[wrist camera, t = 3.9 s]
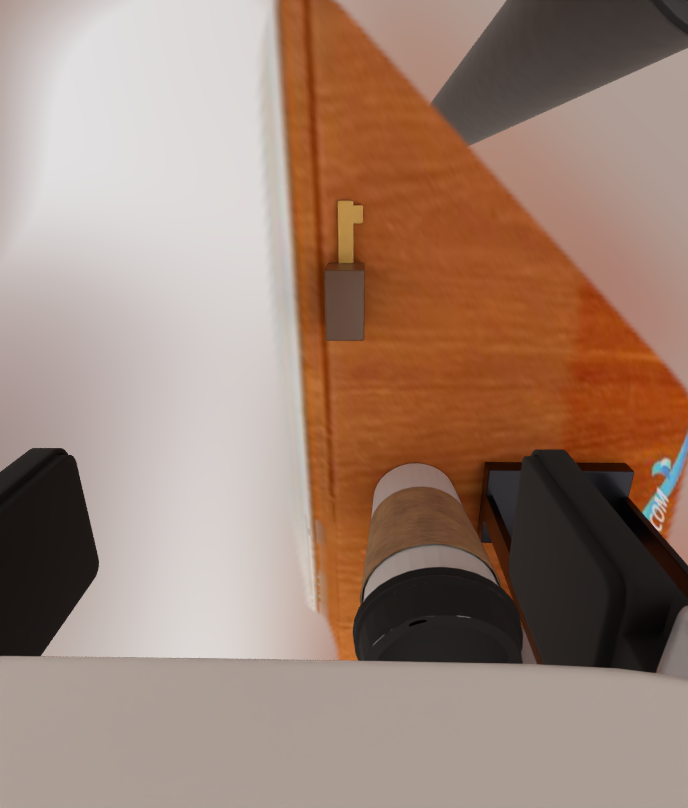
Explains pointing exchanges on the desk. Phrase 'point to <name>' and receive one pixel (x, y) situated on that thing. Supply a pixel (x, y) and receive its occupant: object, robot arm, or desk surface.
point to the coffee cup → (430, 579)
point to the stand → (608, 481)
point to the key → (345, 281)
